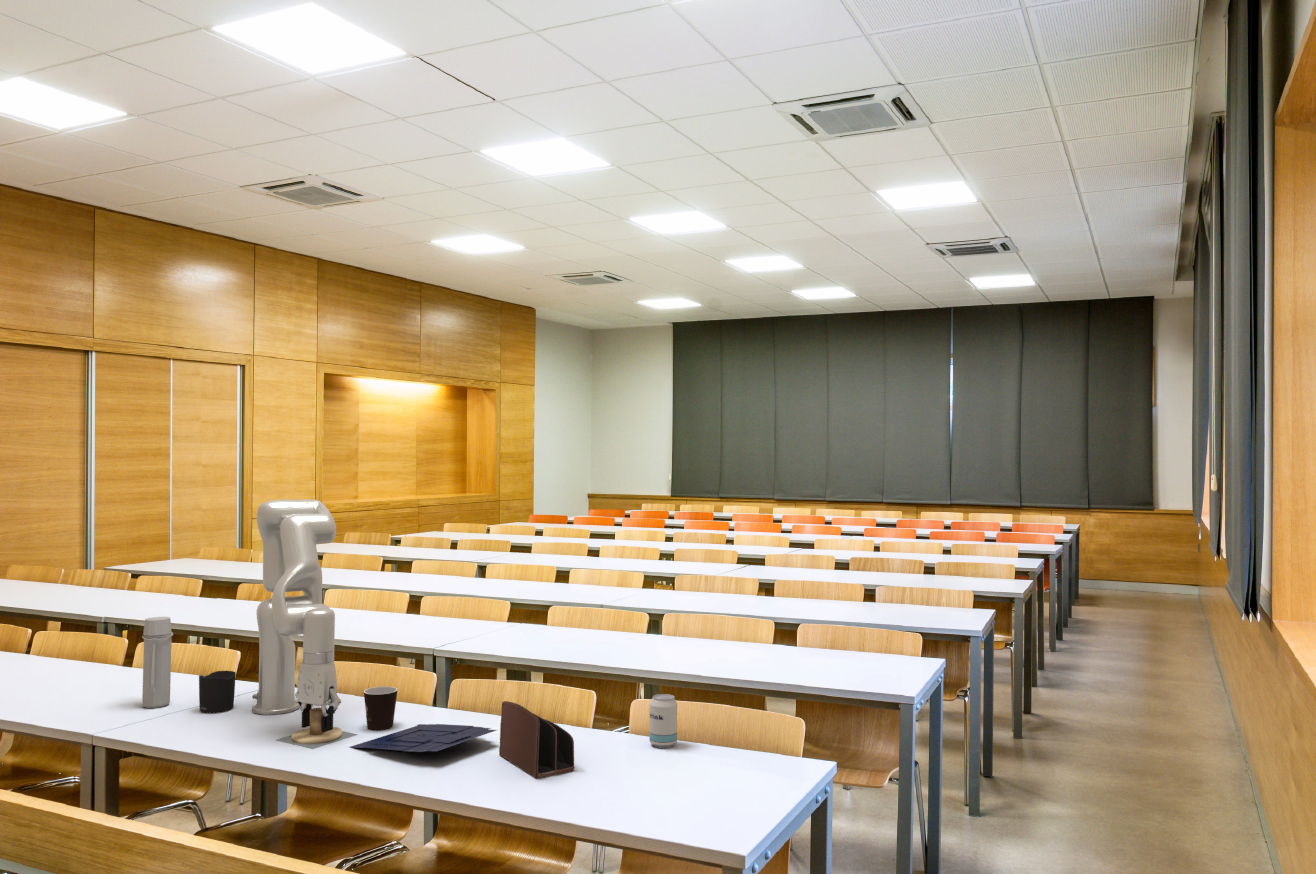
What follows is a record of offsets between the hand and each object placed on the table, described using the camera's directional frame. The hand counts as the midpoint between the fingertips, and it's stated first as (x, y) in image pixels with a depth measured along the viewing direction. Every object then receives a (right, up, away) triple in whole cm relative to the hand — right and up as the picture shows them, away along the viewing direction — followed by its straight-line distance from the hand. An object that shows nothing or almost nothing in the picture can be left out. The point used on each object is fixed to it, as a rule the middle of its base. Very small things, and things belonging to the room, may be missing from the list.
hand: (317, 728), depth 230 cm
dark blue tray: (+29, -3, -5) cm, 29 cm away
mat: (0, -3, 0) cm, 3 cm away
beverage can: (+88, -3, -4) cm, 88 cm away
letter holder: (+58, -3, -18) cm, 61 cm away
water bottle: (-58, -4, +30) cm, 65 cm away
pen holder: (-39, -4, +27) cm, 47 cm away
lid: (0, -2, 0) cm, 2 cm away
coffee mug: (+13, -3, +11) cm, 17 cm away
